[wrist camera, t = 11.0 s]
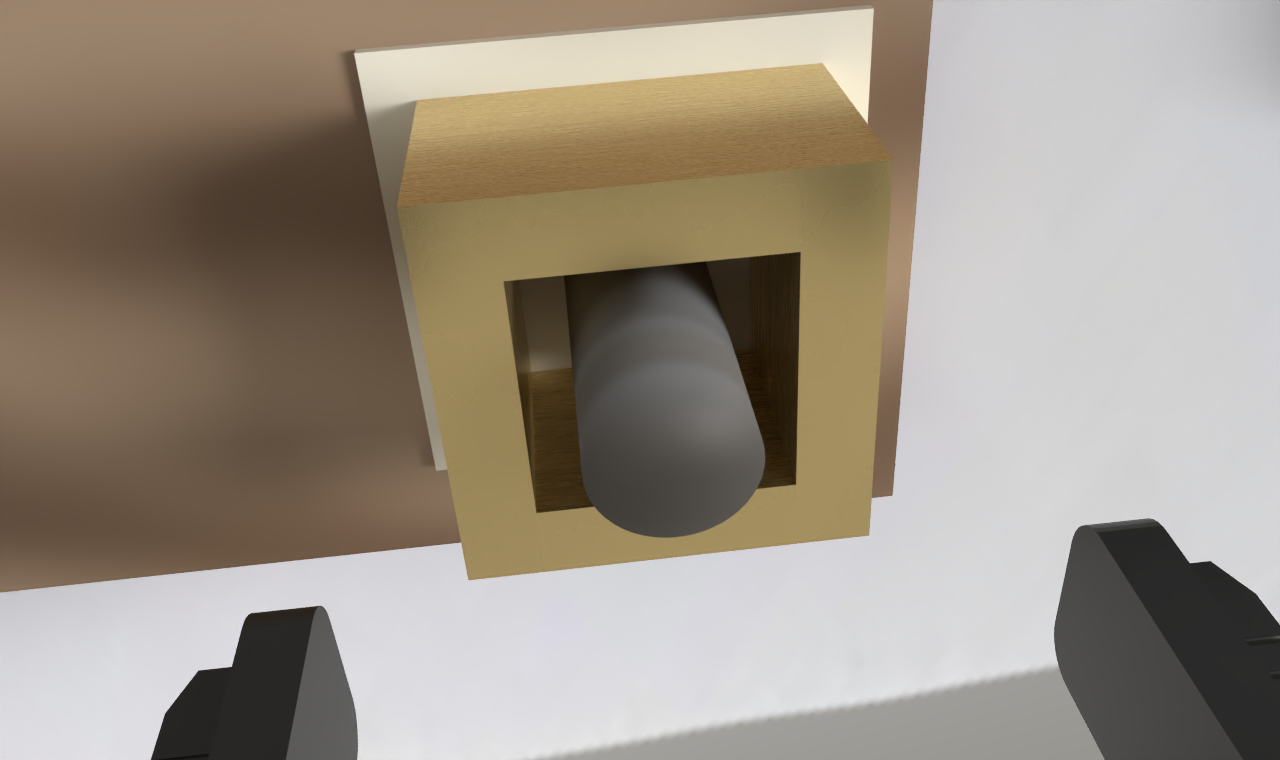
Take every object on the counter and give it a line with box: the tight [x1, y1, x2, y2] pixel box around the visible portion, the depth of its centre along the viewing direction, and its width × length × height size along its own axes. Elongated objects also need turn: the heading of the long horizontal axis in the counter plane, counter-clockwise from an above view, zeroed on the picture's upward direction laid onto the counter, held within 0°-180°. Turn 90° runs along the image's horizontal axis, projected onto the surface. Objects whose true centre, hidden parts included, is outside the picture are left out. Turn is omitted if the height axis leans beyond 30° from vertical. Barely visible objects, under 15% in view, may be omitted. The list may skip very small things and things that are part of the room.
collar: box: [397, 63, 894, 580], centre depth 18 cm, size 6×6×4 cm
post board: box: [0, 0, 933, 592], centre depth 17 cm, size 16×22×8 cm
